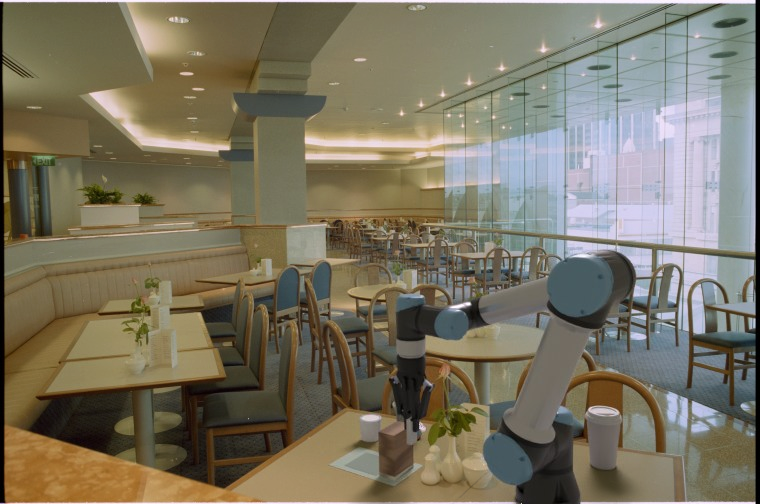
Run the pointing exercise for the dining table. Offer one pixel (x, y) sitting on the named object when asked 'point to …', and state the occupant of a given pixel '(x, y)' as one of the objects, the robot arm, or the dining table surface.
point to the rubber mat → (367, 465)
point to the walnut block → (394, 451)
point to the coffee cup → (603, 436)
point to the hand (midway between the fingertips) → (411, 442)
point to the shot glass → (370, 427)
